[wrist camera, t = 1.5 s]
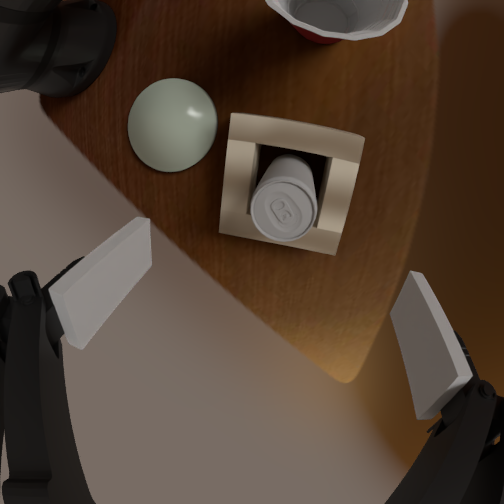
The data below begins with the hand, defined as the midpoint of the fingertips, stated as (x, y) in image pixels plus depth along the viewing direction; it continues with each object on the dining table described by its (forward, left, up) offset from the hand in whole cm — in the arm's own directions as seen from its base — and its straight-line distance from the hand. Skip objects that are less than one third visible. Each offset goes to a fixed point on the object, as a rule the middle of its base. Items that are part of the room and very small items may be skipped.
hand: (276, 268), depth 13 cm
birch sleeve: (0, 0, -19) cm, 19 cm away
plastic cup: (-18, +1, -19) cm, 26 cm away
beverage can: (0, 0, -19) cm, 19 cm away
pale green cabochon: (-4, -14, -19) cm, 24 cm away
